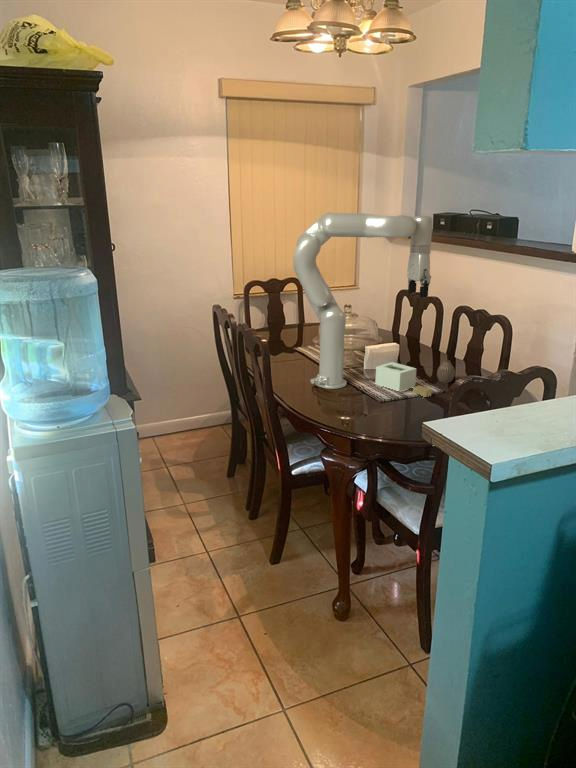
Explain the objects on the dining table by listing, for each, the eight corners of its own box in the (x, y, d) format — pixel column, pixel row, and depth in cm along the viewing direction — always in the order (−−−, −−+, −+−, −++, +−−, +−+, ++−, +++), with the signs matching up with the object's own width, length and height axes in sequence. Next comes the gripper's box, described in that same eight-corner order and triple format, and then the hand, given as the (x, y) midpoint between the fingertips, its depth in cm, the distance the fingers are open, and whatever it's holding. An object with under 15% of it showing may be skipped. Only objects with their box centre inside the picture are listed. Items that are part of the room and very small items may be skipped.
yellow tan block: (425, 398, 213) (426, 391, 212) (412, 394, 217) (413, 387, 216) (431, 396, 215) (431, 389, 214) (418, 392, 219) (418, 385, 218)
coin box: (399, 393, 218) (400, 373, 215) (375, 385, 226) (376, 366, 224) (415, 387, 224) (416, 368, 222) (391, 380, 233) (392, 362, 230)
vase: (454, 384, 228) (456, 363, 225) (436, 383, 229) (438, 362, 226) (453, 379, 234) (455, 359, 232) (436, 378, 236) (437, 358, 233)
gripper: (401, 248, 221) (399, 292, 226) (422, 252, 205) (419, 299, 210) (418, 247, 223) (416, 291, 228) (440, 251, 207) (437, 298, 212)
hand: (417, 295), depth 219 cm, fingers open, 9 cm apart
